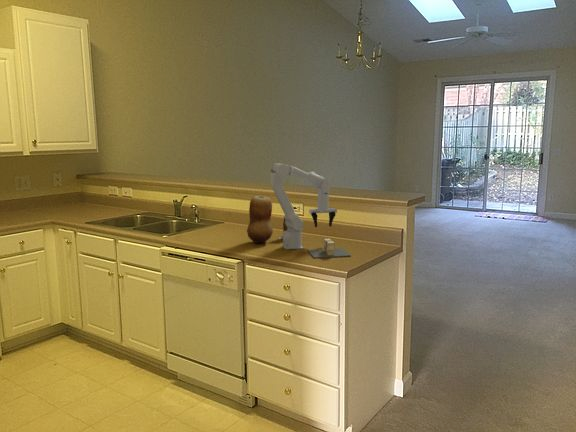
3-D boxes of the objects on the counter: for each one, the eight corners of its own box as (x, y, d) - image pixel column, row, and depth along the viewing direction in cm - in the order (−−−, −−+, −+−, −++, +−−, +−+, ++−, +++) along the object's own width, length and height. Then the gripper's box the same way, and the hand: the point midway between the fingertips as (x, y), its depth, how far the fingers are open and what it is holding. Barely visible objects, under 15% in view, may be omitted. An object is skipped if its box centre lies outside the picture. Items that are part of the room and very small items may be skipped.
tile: (323, 250, 242) (323, 238, 241) (329, 250, 243) (329, 238, 242) (328, 255, 234) (328, 243, 233) (334, 255, 234) (334, 242, 233)
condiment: (293, 239, 269) (293, 218, 267) (278, 239, 270) (278, 217, 268) (295, 236, 276) (295, 215, 274) (280, 236, 277) (280, 215, 275)
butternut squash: (269, 246, 255) (268, 198, 250) (244, 245, 257) (243, 197, 253) (275, 240, 268) (274, 194, 264) (251, 239, 271) (250, 194, 266)
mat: (314, 258, 231) (314, 257, 230) (307, 251, 244) (307, 250, 244) (351, 256, 234) (351, 255, 233) (342, 249, 247) (342, 248, 247)
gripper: (311, 202, 249) (311, 228, 252) (338, 201, 252) (338, 227, 254) (308, 200, 256) (308, 226, 259) (335, 199, 259) (335, 224, 261)
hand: (323, 226), depth 257 cm, fingers open, 7 cm apart
